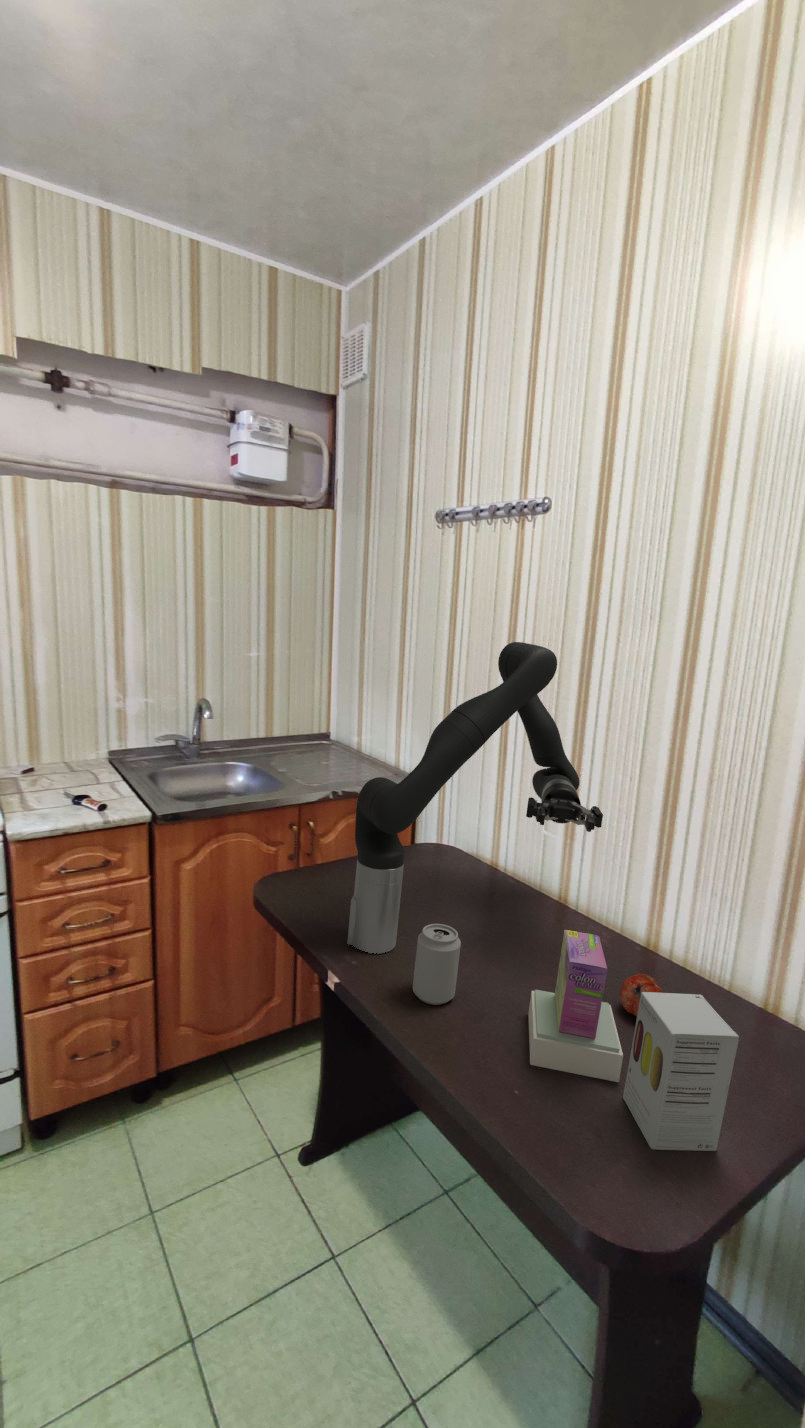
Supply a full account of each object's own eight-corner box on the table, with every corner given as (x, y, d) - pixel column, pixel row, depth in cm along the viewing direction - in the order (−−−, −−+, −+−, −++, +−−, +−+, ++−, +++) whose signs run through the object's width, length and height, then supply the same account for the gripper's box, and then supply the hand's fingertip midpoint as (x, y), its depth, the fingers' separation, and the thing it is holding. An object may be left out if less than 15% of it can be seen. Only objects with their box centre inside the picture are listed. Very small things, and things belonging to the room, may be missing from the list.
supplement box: (620, 1096, 93) (638, 989, 90) (681, 1098, 94) (701, 991, 91) (651, 1152, 84) (672, 1033, 81) (719, 1153, 85) (741, 1035, 82)
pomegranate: (625, 1009, 119) (602, 989, 113) (649, 977, 120) (627, 956, 114) (657, 1037, 113) (635, 1018, 107) (682, 1003, 114) (661, 983, 108)
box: (596, 1040, 97) (608, 967, 95) (558, 1032, 98) (568, 960, 96) (589, 1001, 107) (599, 934, 106) (554, 994, 108) (563, 928, 107)
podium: (530, 1064, 98) (534, 1034, 97) (528, 1014, 111) (532, 987, 110) (618, 1082, 96) (623, 1051, 95) (606, 1028, 109) (611, 1001, 108)
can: (459, 989, 116) (466, 927, 114) (448, 1012, 109) (456, 946, 107) (419, 978, 118) (426, 917, 117) (406, 1000, 111) (413, 935, 110)
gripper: (528, 778, 136) (529, 798, 120) (597, 787, 134) (608, 809, 118) (523, 812, 137) (524, 837, 121) (592, 822, 135) (602, 848, 119)
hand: (566, 823), depth 120 cm, fingers open, 8 cm apart
